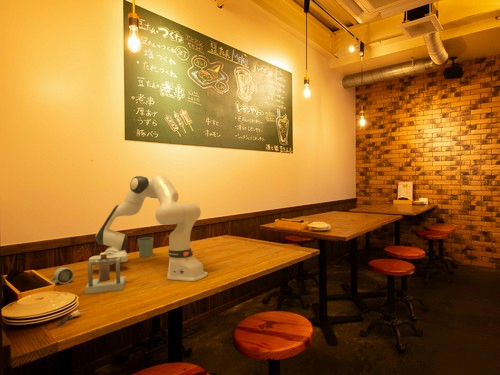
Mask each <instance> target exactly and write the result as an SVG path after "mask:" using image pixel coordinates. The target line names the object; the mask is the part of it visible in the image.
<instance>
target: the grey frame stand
mask: <svg viewBox="0 0 500 375" xmlns="http://www.w3.org/2000/svg"><path fill="white" fill-rule="evenodd" d="M113 263H114V264H115V279H114V281H112V282H110V281H109V282H101V281H99V278H94V279H93V277H94V276H93V266H99V265H101V264H111V265H114V264H113ZM120 263H121V262H120V260H111V261H106V260H103V261H100V262H89V261H88V262H87V277H88V278H87V284H86V286H85V287H84V291H85V295H89V294H96V293H107V292H114V291H122V290H124V287H125V285H126V276H125V275H124V276H123V275H122V276H121V264H120ZM100 282H101V283H100Z"/></svg>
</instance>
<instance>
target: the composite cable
mask: <svg viewBox="0 0 500 375" xmlns="http://www.w3.org/2000/svg"><path fill="white" fill-rule="evenodd" d="M83 313H84V311H82V310H81V309H80V310H78V309H77V310H74V311H72V312H71V313H69V314H68V315H67V316H66V317H65V318H64V319H62V320H60V321H58V322H57V323H56V326H58V327H60V326H62V325H65V323H66V322H67V321H70V320H73V319H75V318H78V317H79V316H80V315H82V314H83Z"/></svg>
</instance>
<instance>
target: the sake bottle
mask: <svg viewBox="0 0 500 375" xmlns="http://www.w3.org/2000/svg"><path fill="white" fill-rule="evenodd" d="M99 255H101V258H100V259H99V262H100V261H103V260H106V261H109V258H107V252H105V251H104V252H100V253H99ZM110 273H111V272H110V265H109V264H101V265H98V279H99V281H100V282H106V281H109V280H110V278H111V276H110V275H111V274H110Z"/></svg>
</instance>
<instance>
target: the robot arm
mask: <svg viewBox="0 0 500 375" xmlns="http://www.w3.org/2000/svg"><path fill="white" fill-rule="evenodd" d="M146 198H150V199H151V198H152V199H157V200H158V202H159V204H160V205H159V206H158V207H157V208H156V211H155V219H156V221H157V222H158V224H160V225H168V226H170V225H171V226H172V225H176V227H175V229H174V230H173V231H171V232H170V234H169V237H168V244H169V245H168V246H169V249H168V257H169V260H168V261H169V262H168V269H167V273H166V276H167V280H172V281H173V280H174V281H183V282H185V281H186V282H195V281H199V280H201V279H204V278H206V277H207V276H208V275H209V273H208V272H207V271H204V265H203V263H202V262H201V261H200V260H199V259H198V258H196V257H195V256H194V254H193V253H194V252H195V250H192V248H191V233H192V230H193V227H194V224H195V223H196V222H197V221H198V220H199V218H200V216H201V211H202V210H201V208H200V206H199V204H198V203H195V202H181V203H180V202H178V200H179V193H178V191H177V189H176V188H175V186H174V185H173V184H172V182H171V181H170V180H169V179H168V178H167V177H166V176H165V175H163V174H157V175H155V176H153V177H152V178H150V177H145V176H142V175H136V176H134V177H133V178H132V179H131V180H130V184H129V190H128V191H127V193H126V195H125V197H124V199H123V200H122V202H121V203H120V204H117V205H116V206H114V208H113V209H111V212H110V213H109V214H108V217H107V218H106V220H105V221H104V223H103V224H102V226H101V227H100V228H99V229H98V230H97V232H96V233H95V237H94V238H95V241H96V242H97V244H99V245H105V246H108V247H107V248H106V250H105V251H104V252H107V258H109V261H111V260H120V263H125V262H128V253H127V251H126V250H125V249H126V248H127V245H128V241H129V238H128V236H127V234H126V233H123V232H119V231H116V230H113V229H111V228H110V227H111V225H112V224H113V222H114V220H116V218H117V217H125V216H127V217H129V216H134V215H137V214H138V213H139V212H140V211H141V209H142V206H143V204H144V202H145V199H146ZM100 258H101V255H100V254H99V255H93V256H91V257H89V258H88V262H99V259H100ZM114 264H115V263H113V264H109V266H110V265H114Z"/></svg>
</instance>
